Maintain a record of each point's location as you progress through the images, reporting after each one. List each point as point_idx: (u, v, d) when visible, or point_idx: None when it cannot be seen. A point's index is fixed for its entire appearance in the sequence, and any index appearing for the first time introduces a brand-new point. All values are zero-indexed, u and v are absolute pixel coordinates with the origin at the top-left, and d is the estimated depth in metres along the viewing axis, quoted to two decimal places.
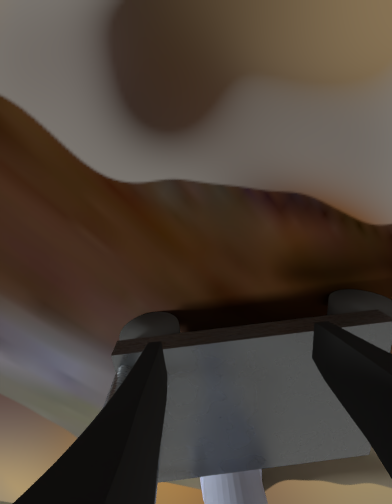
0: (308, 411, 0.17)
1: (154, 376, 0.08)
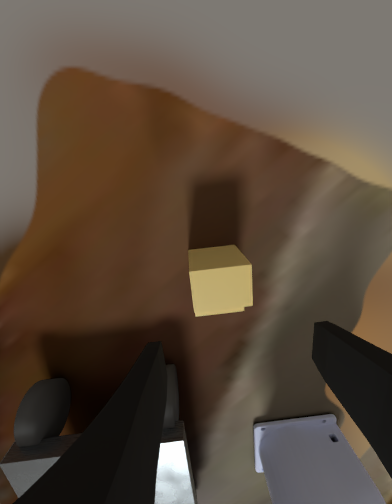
0: None
1: (154, 376, 0.08)
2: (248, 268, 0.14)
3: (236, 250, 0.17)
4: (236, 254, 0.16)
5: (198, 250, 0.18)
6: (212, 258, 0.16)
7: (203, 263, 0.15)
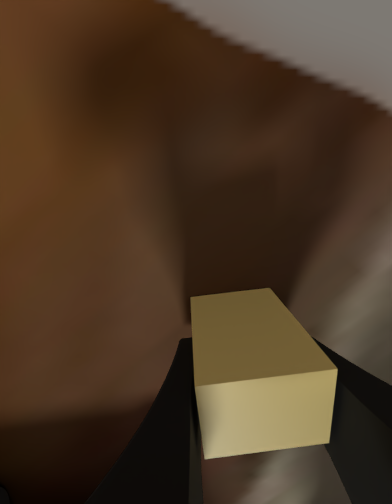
0: None
1: None
2: (330, 376, 0.06)
3: (280, 307, 0.09)
4: (283, 319, 0.08)
5: (208, 301, 0.10)
6: (238, 331, 0.08)
7: (224, 350, 0.07)
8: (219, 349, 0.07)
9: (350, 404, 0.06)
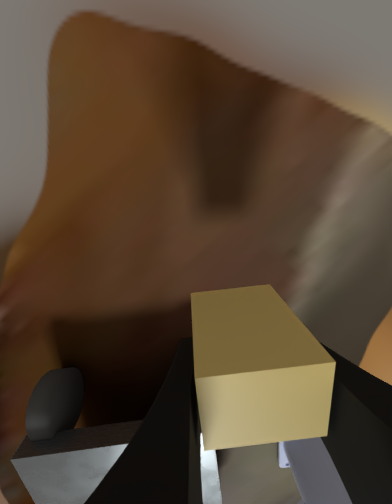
0: None
1: None
2: (328, 369, 0.06)
3: (279, 303, 0.09)
4: (282, 314, 0.08)
5: (208, 297, 0.10)
6: (238, 326, 0.08)
7: (224, 343, 0.07)
8: (219, 343, 0.07)
9: (350, 404, 0.06)
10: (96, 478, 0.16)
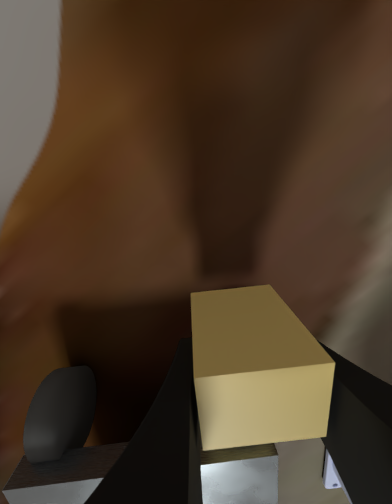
0: None
1: None
2: (327, 370, 0.06)
3: (279, 303, 0.09)
4: (282, 315, 0.08)
5: (208, 296, 0.10)
6: (238, 326, 0.08)
7: (223, 343, 0.07)
8: (218, 343, 0.07)
9: (350, 404, 0.06)
10: None
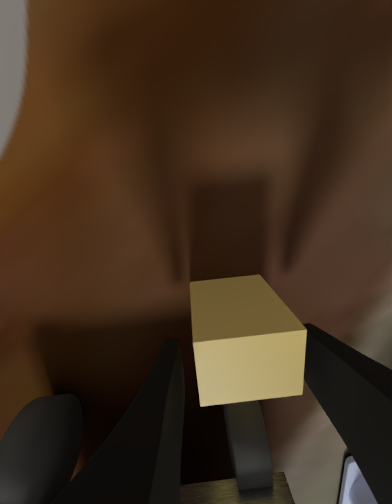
0: None
1: (175, 373, 0.08)
2: (301, 336, 0.08)
3: (266, 288, 0.11)
4: (268, 297, 0.10)
5: (205, 284, 0.12)
6: (230, 305, 0.09)
7: (217, 318, 0.09)
8: (213, 318, 0.09)
9: (376, 401, 0.06)
10: None
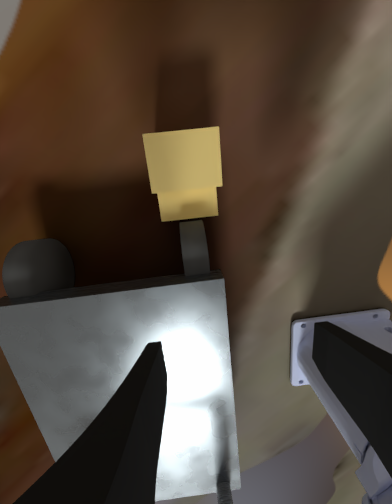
0: None
1: (153, 376, 0.08)
2: (215, 132, 0.11)
3: None
4: None
5: None
6: None
7: None
8: None
9: None
10: (86, 343, 0.13)
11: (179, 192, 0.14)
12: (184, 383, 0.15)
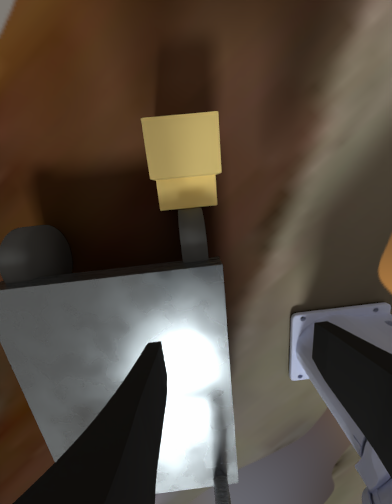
0: (132, 358, 0.14)
1: (153, 376, 0.08)
2: (214, 116, 0.11)
3: None
4: None
5: None
6: None
7: None
8: None
9: None
10: (83, 329, 0.13)
11: (178, 181, 0.14)
12: (181, 372, 0.14)
